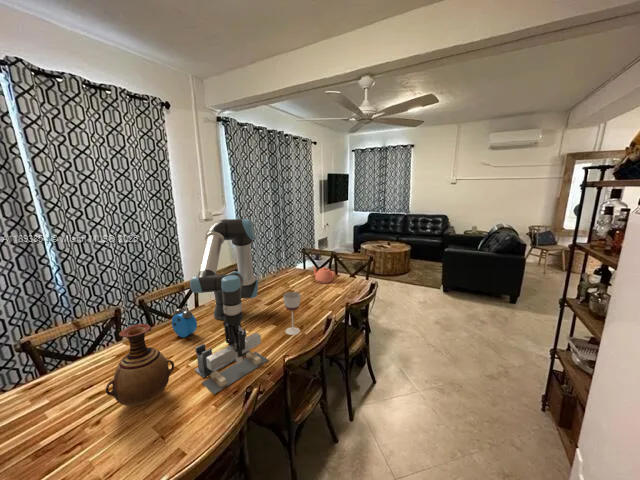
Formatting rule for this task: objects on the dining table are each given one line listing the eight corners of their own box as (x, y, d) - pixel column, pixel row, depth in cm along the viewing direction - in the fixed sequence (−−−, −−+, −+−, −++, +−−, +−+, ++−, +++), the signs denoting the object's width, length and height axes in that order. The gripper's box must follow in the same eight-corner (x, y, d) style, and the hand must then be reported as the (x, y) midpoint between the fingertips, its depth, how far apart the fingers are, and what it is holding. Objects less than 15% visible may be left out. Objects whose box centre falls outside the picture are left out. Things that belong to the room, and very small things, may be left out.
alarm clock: (198, 334, 152) (195, 310, 149) (189, 340, 146) (186, 314, 143) (181, 329, 157) (179, 305, 154) (172, 335, 152) (169, 310, 149)
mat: (201, 383, 115) (201, 382, 115) (255, 352, 136) (255, 351, 136) (214, 395, 109) (214, 394, 109) (268, 360, 130) (268, 359, 130)
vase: (105, 427, 94) (90, 350, 88) (119, 391, 111) (107, 323, 105) (174, 407, 103) (165, 335, 97) (178, 376, 119) (170, 313, 113)
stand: (194, 370, 123) (192, 348, 120) (240, 346, 141) (239, 326, 139) (203, 378, 118) (201, 355, 115) (249, 352, 136) (248, 331, 134)
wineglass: (298, 336, 151) (298, 298, 146) (282, 334, 153) (281, 297, 148) (302, 327, 159) (302, 292, 155) (287, 326, 161) (286, 291, 156)
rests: (211, 378, 117) (210, 373, 117) (250, 356, 133) (250, 351, 132) (221, 387, 112) (220, 382, 112) (261, 362, 128) (260, 357, 127)
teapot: (308, 281, 234) (307, 267, 231) (316, 276, 246) (316, 263, 244) (330, 286, 223) (331, 271, 220) (338, 280, 236) (339, 266, 233)
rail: (211, 370, 110) (210, 361, 109) (207, 367, 112) (206, 357, 111) (261, 343, 129) (260, 334, 128) (256, 340, 131) (255, 332, 130)
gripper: (214, 309, 119) (218, 357, 124) (236, 321, 109) (240, 373, 113) (229, 303, 125) (233, 349, 129) (252, 314, 114) (254, 364, 119)
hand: (236, 360), depth 121 cm, fingers closed on rail, 3 cm apart
